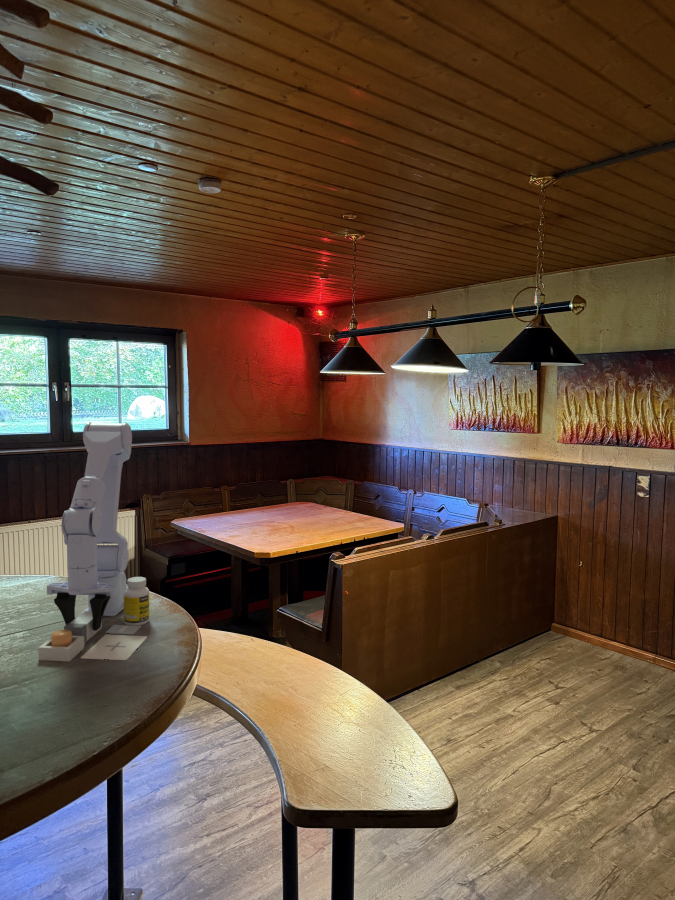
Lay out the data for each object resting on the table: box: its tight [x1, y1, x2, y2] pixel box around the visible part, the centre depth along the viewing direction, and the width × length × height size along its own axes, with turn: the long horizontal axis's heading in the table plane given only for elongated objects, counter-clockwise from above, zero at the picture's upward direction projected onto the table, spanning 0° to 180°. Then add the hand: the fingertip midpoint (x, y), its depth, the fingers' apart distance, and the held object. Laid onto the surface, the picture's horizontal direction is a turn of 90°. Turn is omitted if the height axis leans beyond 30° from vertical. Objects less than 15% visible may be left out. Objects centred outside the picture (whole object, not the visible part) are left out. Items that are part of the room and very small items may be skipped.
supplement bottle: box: [123, 576, 150, 626], centre depth 134 cm, size 5×5×10 cm
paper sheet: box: [80, 634, 149, 661], centre depth 121 cm, size 11×9×1 cm
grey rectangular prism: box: [63, 611, 103, 644], centre depth 127 cm, size 9×4×4 cm, turn 177°
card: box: [105, 624, 141, 636], centre depth 130 cm, size 4×6×1 cm, turn 87°
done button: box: [50, 629, 72, 647], centre depth 118 cm, size 4×4×3 cm
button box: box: [37, 636, 85, 662], centre depth 118 cm, size 6×6×2 cm
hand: (83, 628), depth 127 cm, fingers open, 5 cm apart
